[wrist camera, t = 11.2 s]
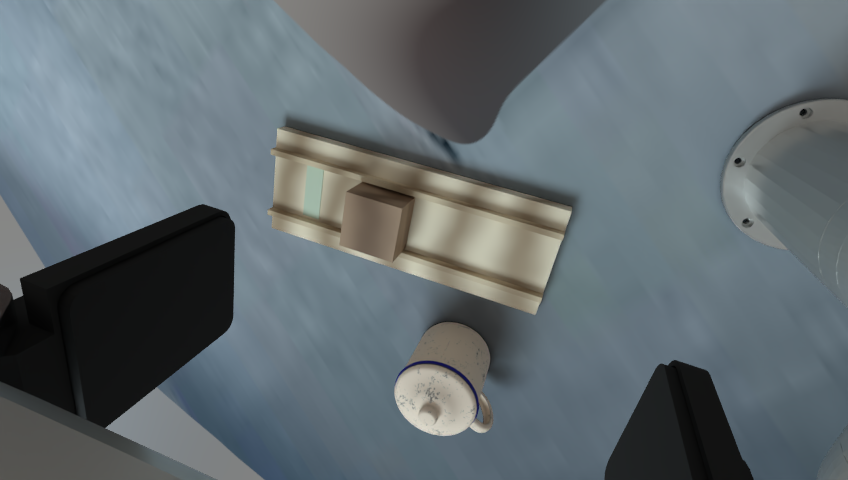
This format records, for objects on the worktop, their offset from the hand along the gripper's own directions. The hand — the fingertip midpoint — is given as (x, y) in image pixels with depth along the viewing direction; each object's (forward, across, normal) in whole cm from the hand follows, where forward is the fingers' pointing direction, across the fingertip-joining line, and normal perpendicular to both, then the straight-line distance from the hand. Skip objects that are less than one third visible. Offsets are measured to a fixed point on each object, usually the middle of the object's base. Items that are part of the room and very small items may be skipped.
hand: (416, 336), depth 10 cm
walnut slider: (+37, +13, +14) cm, 41 cm away
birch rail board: (+38, +11, +14) cm, 42 cm away
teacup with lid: (+38, +1, +30) cm, 49 cm away
